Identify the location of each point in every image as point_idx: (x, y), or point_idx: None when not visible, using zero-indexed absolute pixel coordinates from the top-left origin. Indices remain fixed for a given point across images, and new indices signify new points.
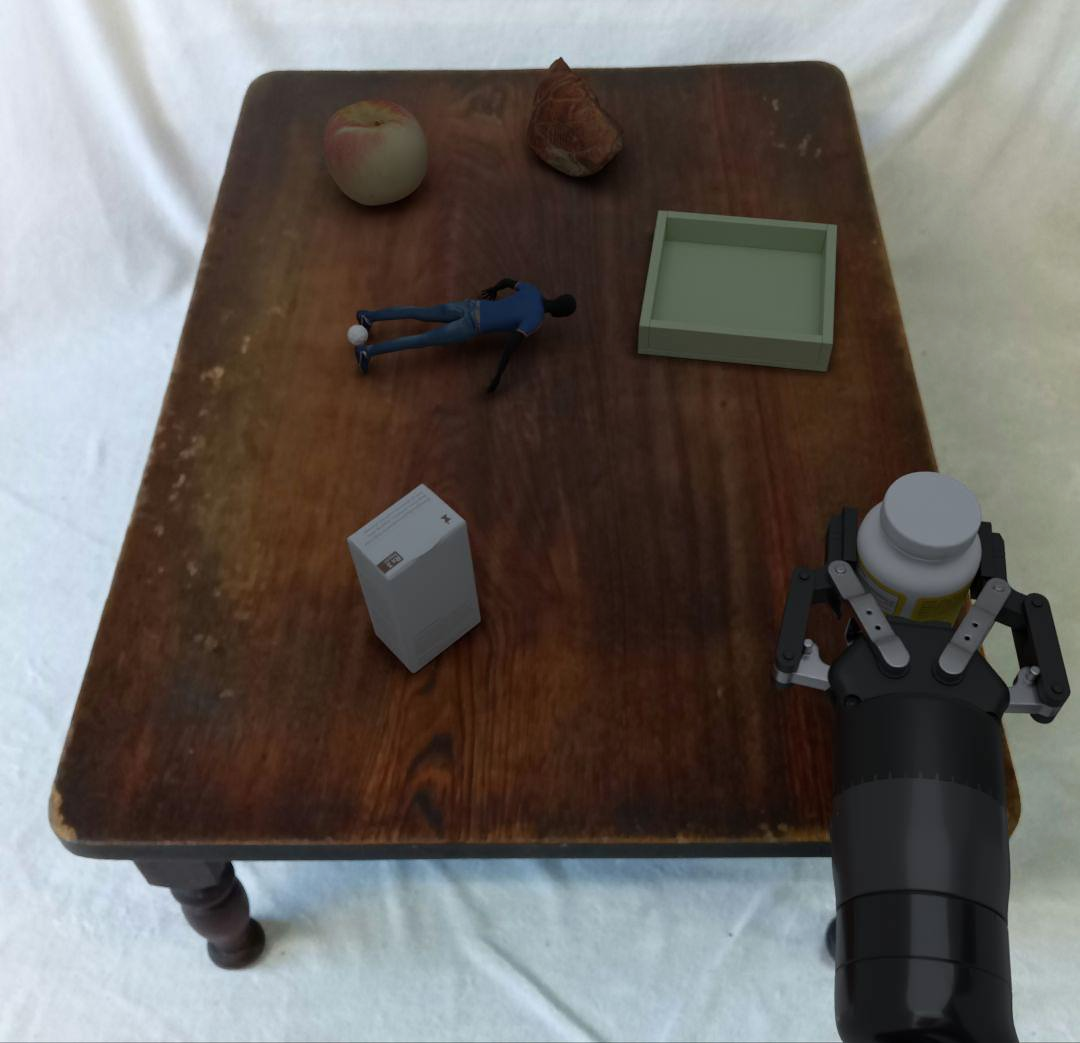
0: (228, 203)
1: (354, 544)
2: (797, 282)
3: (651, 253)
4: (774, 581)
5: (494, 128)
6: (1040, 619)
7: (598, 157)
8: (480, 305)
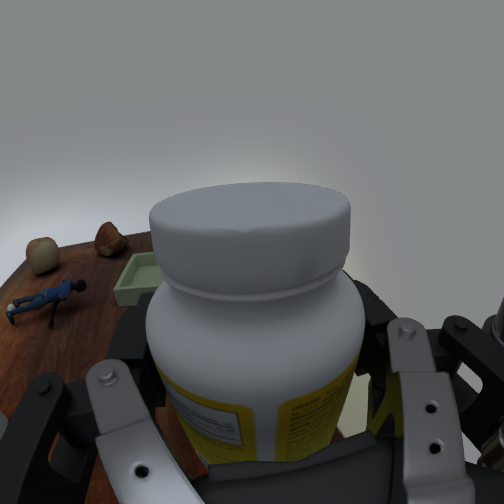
0: (6, 280)
1: None
2: None
3: (126, 266)
4: None
5: (89, 250)
6: (481, 343)
7: (114, 244)
8: (48, 289)
